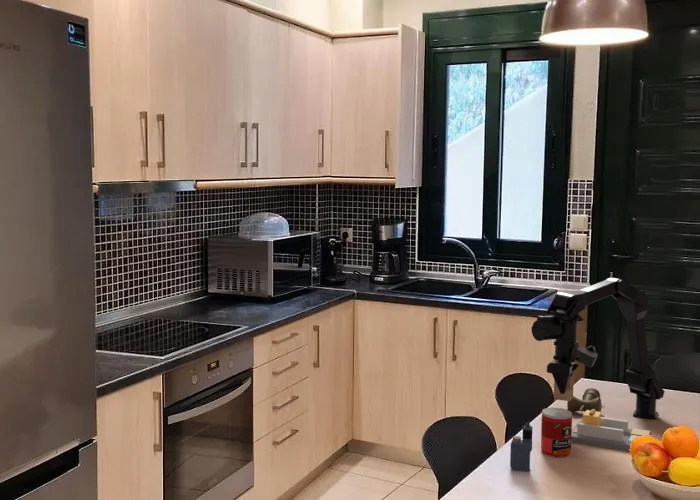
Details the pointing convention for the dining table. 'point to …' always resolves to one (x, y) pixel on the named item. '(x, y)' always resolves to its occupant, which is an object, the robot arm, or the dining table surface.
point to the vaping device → (521, 450)
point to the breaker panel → (606, 434)
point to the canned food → (556, 432)
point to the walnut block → (568, 392)
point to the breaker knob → (592, 417)
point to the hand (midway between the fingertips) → (564, 391)
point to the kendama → (586, 402)
